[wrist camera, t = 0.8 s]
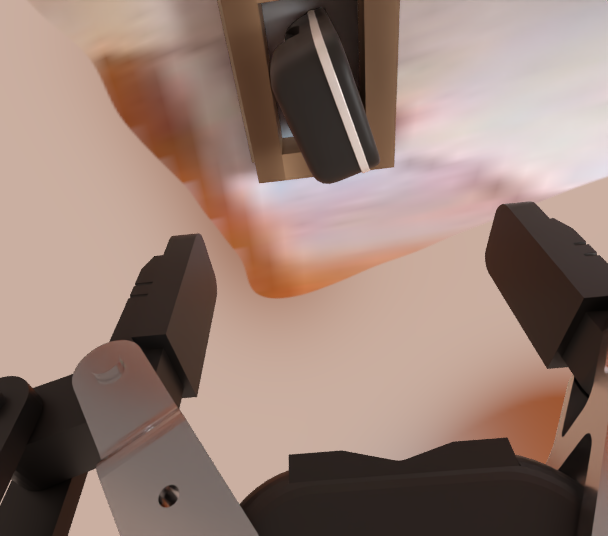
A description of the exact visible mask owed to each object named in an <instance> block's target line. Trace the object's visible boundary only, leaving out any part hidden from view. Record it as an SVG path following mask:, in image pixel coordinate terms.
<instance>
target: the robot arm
mask: <svg viewBox="0 0 608 536" xmlns="http://www.w3.org/2000/svg"><path fill="white" fill-rule="evenodd" d="M485 262H486V267H487V270H488V272H489V274H490V276H491V277H492V279H493V281H494V282H495V284H496V286H497V287H498V289H499V291H500V292H501V294H502V295H503V297H504V299H505V300H506V302H507V304H508V305H509V307H510V309H511V310H512V312H513V313H514V315H515V316H516V318H517V320H518V321H519V323H520V325H521V327H522V328H523V330H524V331H525V333H526V335H527V336H528V338H529V340H530V341H531V343H532V345H533V346H534V348H535V349H536V351H537V353H538V354H539V356H540V358H541V359H542V361H543V363H544V364H545V366H546V367H547V369H549V368H550V369H551V368H563V367H569V369H570V370H571V372H572V373H573V375H572V377H571V378H570V380H569V383H568V387H567V390H566V395H565V399H564V403H563V408H562V412H561V416H560V420H559V425H558V429H557V433H556V438H555V442H554V445H553V448H552V451H551V454H550V456H549V458H548V460H547V463H546V464H543V463H541V462H538V461H535V460H533V459H529V458H526V457H523V456H519V455H515V454H514V451H513V449H512V447H511V445H510V442H509V440H508V438H497V439H484V440H470V441H458V442H451V443H449V444H446V445H443V446H441V447H438V448H435V449H433V450H430V451H427V452H424V453H422V454H419V455H416V456H414V457H411V458H408V459H406V460H402V461H395V460H390V459H384V458H379V457H374V456H368V455H363V454H357V453H352V452H347V451H330V452H317V453H305V454H292V455H289V471H286V472H284V473H281V474H279V475H277V476H275V477H273V478H271V479H269V480H267V481H266V482H264V483H263V484H261V485H260V486H259V487H257V488H256V489H255V490H254V491H252V492H251V493H250V494H249V495H248V496H247V497H246V498H245V499H244V500H243V501H242V502H241V503H240V504H239V503H238V502H237V500H236V498H235V497H234V495H233V493H232V492H231V490H230V489H229V487H228V485H227V484H226V482H225V481H224V479H223V477H222V476H221V474H220V473H219V471H218V470H217V468H216V466H215V465H214V463H213V462H212V460H211V458H210V457H209V455H208V454H207V452H206V451H205V449H204V447H203V446H202V444H201V442H200V441H199V439H198V438H197V437H196V435H195V433H194V431H193V430H192V428H191V426H190V425H189V423H188V422H187V420H186V418H185V417H184V415H183V414H182V412H181V411H180V409H179V407H180V403H181V399H182V398H189V397H197V394H198V389H199V384H200V379H201V374H202V368H203V363H204V358H205V353H206V348H207V343H208V338H209V332H210V328H211V322H212V318H213V312H214V307H215V302H216V297H217V285H216V278H215V274H214V271H213V268H212V265H211V262H210V259H209V256H208V253H207V249H206V246H205V243H204V240H203V238H202V236H201V235H200V234H189V235H178V236H172V237H171V238H170V240H169V242H168V244H167V247H166V250H165V252H164V255H161V256H154V257H153V258H152V259H151V260H150V261H149V262H148V263H147V264H146V265H145V266H144V267H143V268H142V269H141V272H140V274H139V276H138V278H137V281H136V283H135V285H136V286H134V287H133V290H132V292H131V294H130V298H129V299H128V301H127V303H126V306H125V308H124V310H123V312H122V315H121V317H120V319H119V321H118V324H117V326H116V328H115V330H114V333H113V335H112V337H111V339H110V342H108V343H106V344H103V345H101V346H99V347H97V348H95V349H94V350H92V351H91V352H90V353H89V354H87V355H86V356H85V357H84V358H83V359H82V360H81V361H80V363H79V364H78V366H77V367H76V369H75V371H74V373H73V374H71V375H69V376H66V377H63V378H60V379H58V380H55V381H52V382H49V383H46V384H43V385H41V386H38V387H35V388H32V387H31V386H30V385H29V384H28V383H27V382H26V381H25V380H24V379H22V378H20V377H16V376H7V377H2V378H0V502H1V500H2V498H3V495H4V493H5V491H6V489H7V486H8V485H9V482H10V480H12V481H11V484H10V486H9V488H8V490H7V492H6V495H5V496H4V499H3V501H2V503H1V505H0V536H68V533H69V530H70V527H71V524H72V520H73V517H74V514H75V511H76V508H77V504H78V502H79V498H80V495H81V492H82V489H83V486H84V483H85V479H86V476H87V473H88V471H90V470H93V469H95V468H96V470H97V474H98V477H99V480H100V483H101V485H102V488H103V491H104V493H105V496H106V499H107V501H108V504H109V507H110V509H111V512H112V515H113V517H114V520H115V523H116V525H117V528H118V531H119V533H120V536H608V263H606V261H605V260H604V259H603V258H602V257H601V256H600V255H598V256H597V252H596V251H595V250H594V249H593V248H592V247H591V246H590V245H589V244H587V245H586V241H585V240H584V239H583V238H582V237H581V236H580V235H579V234H578V233H577V232H576V231H575V230H574V229H573V228H571V227H569V226H567V225H565V224H563V223H562V222H560V221H558V220H556V219H554V218H552V219H549V217H548V216H547V215H546V214H545V213H544V212H543V211H542V210H541V209H540V208H539V207H538V206H537V205H536V204H535V203H534V202H521V203H510V204H502V205H500V206H499V207H498V208H497V210H496V213H495V217H494V221H493V225H492V229H491V232H490V236H489V240H488V244H487V248H486V252H485Z"/></svg>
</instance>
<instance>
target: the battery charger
mask: <svg viewBox="0 0 608 536" xmlns="http://www.w3.org/2000/svg"><path fill="white" fill-rule="evenodd" d="M270 75H271V86H272V90H273V93H274V95H275V98H276V100H277V102H278V104H279V106H280V109H281V111H282V113H283V115H284V117H285V119H286V121H287V124H288V126H289V128H290V130H291V132H292V134H293V136H294V139H295V141H296V143H297V145H298V147H299V149H300V151H301V153H302V156H303V158H304V160H305V162H306V164H307V166H308V168H309V170H310V172H311V174H312V175H313V177H314V178H315V179H316V180H317V181H319V182H322V183H326V184H331V183H334V182H338V181H340V180H343V179H345V178H348V177H350V176H353V175H355V174H358V173H360V172H362V173H365V172H368V171H370V168H373V167H375V166H377V165H378V164H379V162H380V157H379V153H378V150H377V147H376V143H375V140H374V137H373V134H372V131H371V128H370V125H369V122H368V119H367V116H366V113H365V110H364V107H363V104H362V101H361V98H360V95H359V92H358V89H357V86H356V83H355V80H354V77H353V74H352V71H351V68H350V65H349V62H348V60H347V57H346V54H345V51H344V48H343V46H342V43H341V41H340V38H339V36H338V34H337V32H336V30H335V28H334V26H333V24H332V22H331V20H330V19H329V17H328V15H327V13H326V11H325V9H324V8H321V7H320V8H317V9H316V10H313V9H312V10H310V11H308V12H307V14H306V15H304V16H302V17H300V18H298V19H297V20H296V21H295V22H294V23H293V24H291V26H290V27H289V28H288V30H287V31H286V34H285V41H284V42H283V43H281V44H280V45H279V46H278V47H277V48H276V49H275V51H274V52H273V56H272V60H271V63H270Z"/></svg>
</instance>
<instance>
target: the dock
mask: <svg viewBox="0 0 608 536" xmlns="http://www.w3.org/2000/svg"><path fill="white" fill-rule="evenodd" d="M270 1H277V0H217V2H218V7H219V11H220V16H221V21H222V25H223V30H224V34H225V39H226V44H227V48H228V53H229V57H230V62H231V67H232V71H233V76H234V80H235V85H236V90H237V94H238V99H239V104H240V108H241V113H242V117H243V122H244V127H245V131H246V136H247V140H248V145H249V150H250V154H251V159H252V163H254V162H255V165H256V170H257V175H258V179H259V183H266V182H274V181H283V180H291V179H299V178H308V177H313V175H312V174H311V172H310V170H309V168H308V166H307V164H306V162H305V160H304V158H303V156H302V153H301V151H300V149H299V147H298V145H297V143H296V141H295V139H294V137H288V138H282V133H281V126H280V120H279V114H278V107H277V101H276V98H275V95H274V93H273V90H272V86H271V75H270V56H269V50H268V44H267V37H266V31H265V25H264V18H263V12H262V5H261V3H264V2H270ZM357 8H358V49H359V91H360V98H361V101H362V104H363V107H364V110H365V113H366V116H367V119H368V122H369V125H370V128H371V131H372V134H373V137H374V140H375V143H376V147H377V150H378V153H379V157H380V162H379V164H378V165H377V166H375V167H373V168H370V170H374V169H382V168H391V167H394V153H395V125H396V96H397V67H398V38H399V9H400V0H357Z"/></svg>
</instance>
